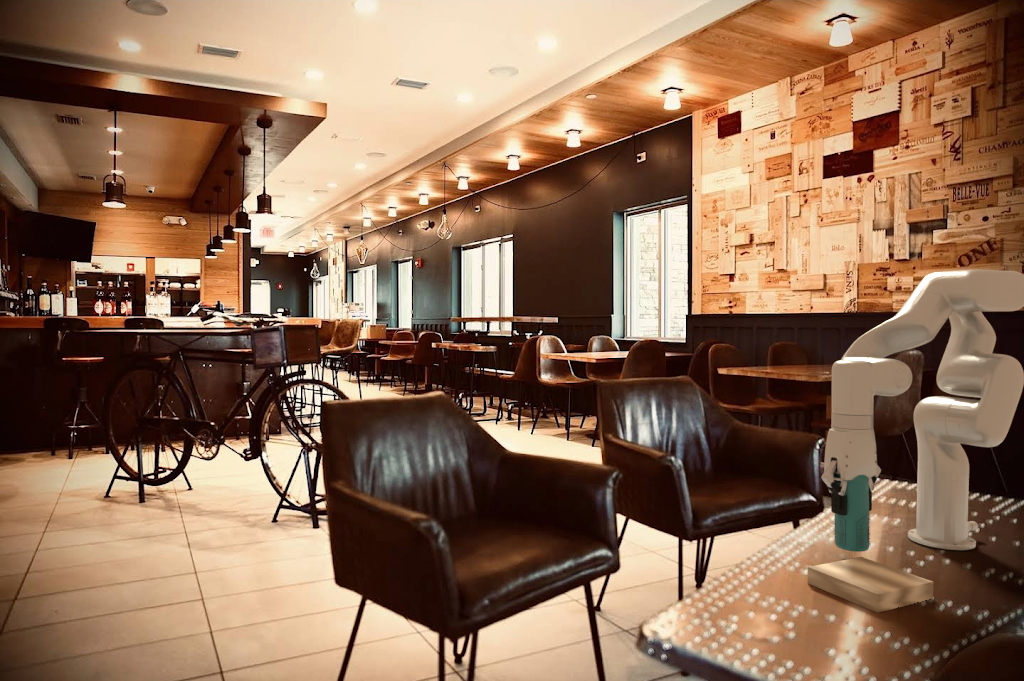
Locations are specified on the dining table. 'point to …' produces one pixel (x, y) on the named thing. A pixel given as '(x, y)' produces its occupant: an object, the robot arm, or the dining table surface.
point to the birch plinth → (870, 583)
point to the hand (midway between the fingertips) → (851, 510)
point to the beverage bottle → (854, 517)
